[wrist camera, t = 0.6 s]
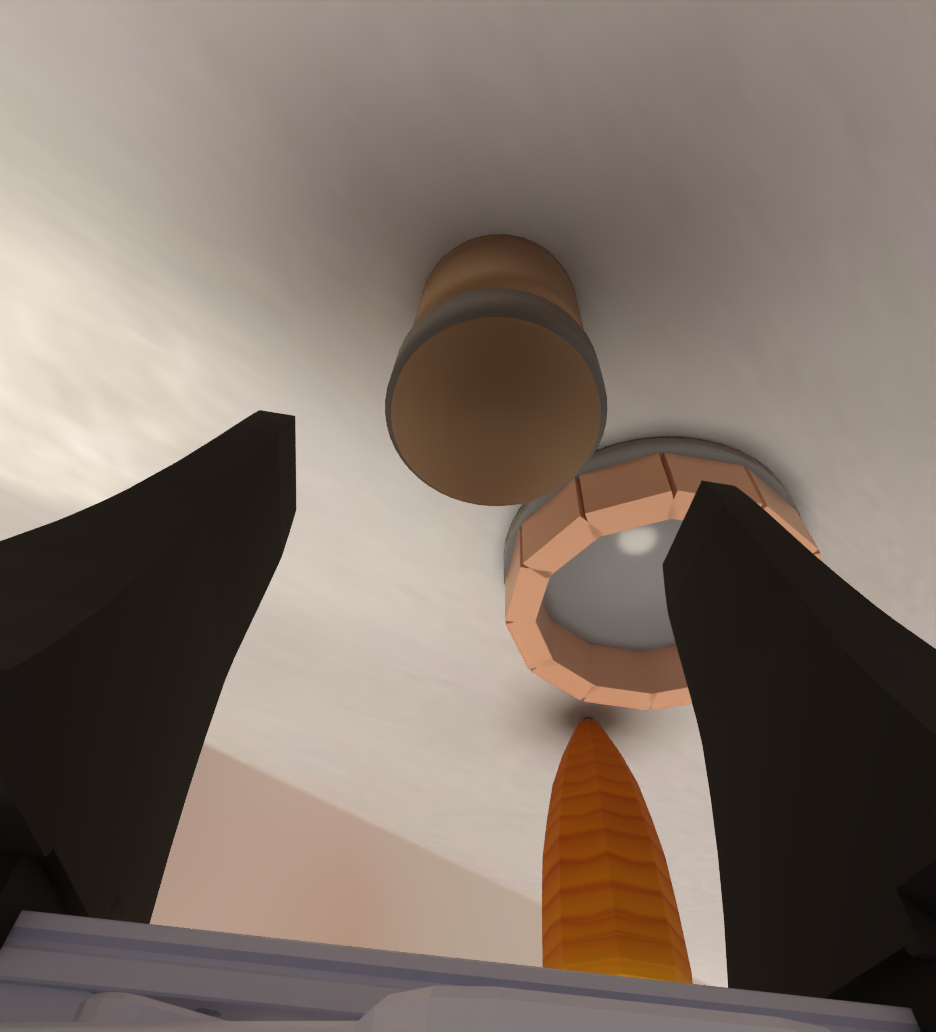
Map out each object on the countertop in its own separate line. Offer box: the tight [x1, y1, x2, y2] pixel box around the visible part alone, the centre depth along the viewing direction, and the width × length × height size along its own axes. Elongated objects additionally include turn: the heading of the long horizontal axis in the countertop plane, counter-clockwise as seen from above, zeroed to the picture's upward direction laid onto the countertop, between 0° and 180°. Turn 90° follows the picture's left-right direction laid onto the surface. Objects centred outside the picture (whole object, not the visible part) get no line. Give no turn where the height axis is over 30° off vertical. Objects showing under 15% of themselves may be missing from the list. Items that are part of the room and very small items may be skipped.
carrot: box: [542, 718, 693, 984], centre depth 24 cm, size 5×5×15 cm
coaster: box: [504, 437, 821, 710], centre depth 23 cm, size 10×10×3 cm
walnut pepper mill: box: [385, 234, 607, 506], centre depth 16 cm, size 5×5×6 cm
